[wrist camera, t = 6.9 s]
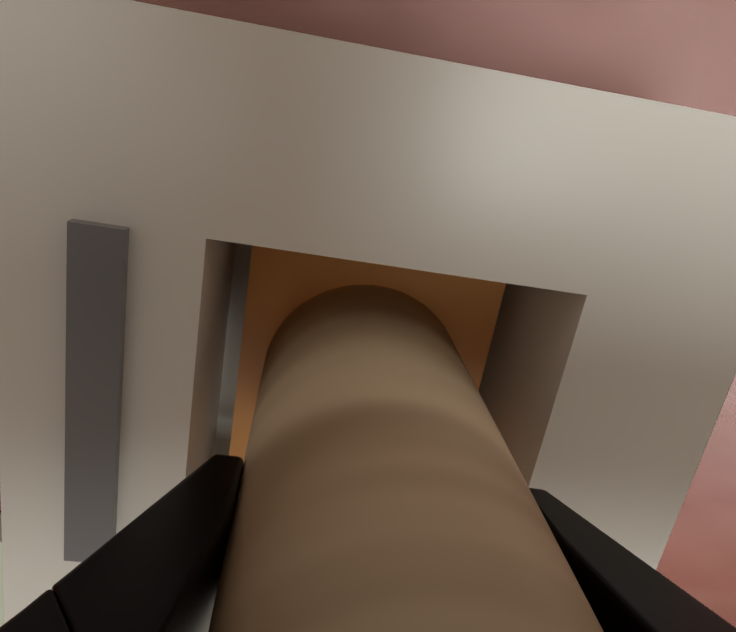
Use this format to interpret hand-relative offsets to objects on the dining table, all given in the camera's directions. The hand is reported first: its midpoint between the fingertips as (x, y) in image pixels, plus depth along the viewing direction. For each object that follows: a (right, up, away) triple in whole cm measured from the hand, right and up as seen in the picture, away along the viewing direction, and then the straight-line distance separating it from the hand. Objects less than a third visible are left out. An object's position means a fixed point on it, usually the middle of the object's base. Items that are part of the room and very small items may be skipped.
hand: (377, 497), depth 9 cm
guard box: (0, +2, +6) cm, 7 cm away
